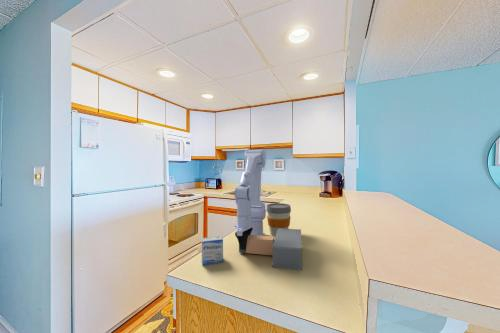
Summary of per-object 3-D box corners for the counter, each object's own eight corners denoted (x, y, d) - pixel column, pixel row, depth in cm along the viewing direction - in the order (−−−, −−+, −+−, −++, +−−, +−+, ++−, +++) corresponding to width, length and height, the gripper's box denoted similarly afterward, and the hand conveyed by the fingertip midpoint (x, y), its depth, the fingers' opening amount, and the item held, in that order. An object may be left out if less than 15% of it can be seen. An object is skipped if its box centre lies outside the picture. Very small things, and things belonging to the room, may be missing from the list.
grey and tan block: (241, 248, 86) (241, 234, 86) (274, 251, 83) (274, 236, 83) (239, 252, 82) (238, 237, 82) (273, 255, 79) (272, 240, 79)
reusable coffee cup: (290, 230, 110) (289, 203, 110) (292, 239, 97) (292, 208, 97) (267, 230, 111) (266, 203, 111) (266, 238, 99) (266, 208, 99)
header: (278, 245, 90) (278, 228, 90) (301, 246, 88) (300, 229, 88) (272, 267, 71) (272, 245, 71) (301, 270, 69) (301, 248, 69)
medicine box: (202, 265, 73) (201, 241, 73) (201, 260, 78) (201, 237, 77) (223, 262, 75) (223, 239, 75) (222, 257, 80) (221, 235, 80)
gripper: (239, 210, 92) (240, 240, 92) (229, 218, 78) (229, 254, 78) (254, 211, 90) (255, 241, 90) (246, 219, 76) (247, 255, 76)
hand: (244, 247), depth 84 cm, fingers closed on grey and tan block, 4 cm apart
